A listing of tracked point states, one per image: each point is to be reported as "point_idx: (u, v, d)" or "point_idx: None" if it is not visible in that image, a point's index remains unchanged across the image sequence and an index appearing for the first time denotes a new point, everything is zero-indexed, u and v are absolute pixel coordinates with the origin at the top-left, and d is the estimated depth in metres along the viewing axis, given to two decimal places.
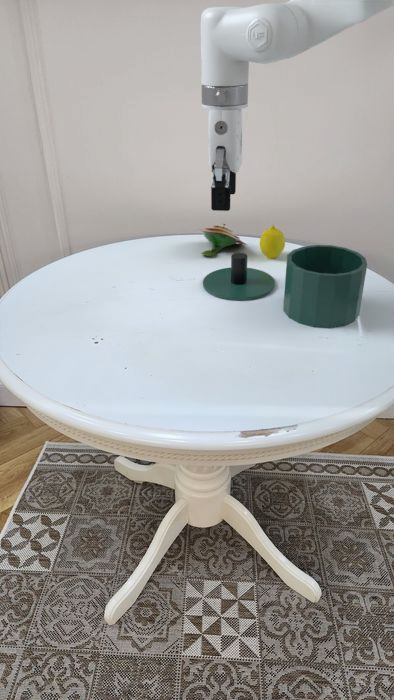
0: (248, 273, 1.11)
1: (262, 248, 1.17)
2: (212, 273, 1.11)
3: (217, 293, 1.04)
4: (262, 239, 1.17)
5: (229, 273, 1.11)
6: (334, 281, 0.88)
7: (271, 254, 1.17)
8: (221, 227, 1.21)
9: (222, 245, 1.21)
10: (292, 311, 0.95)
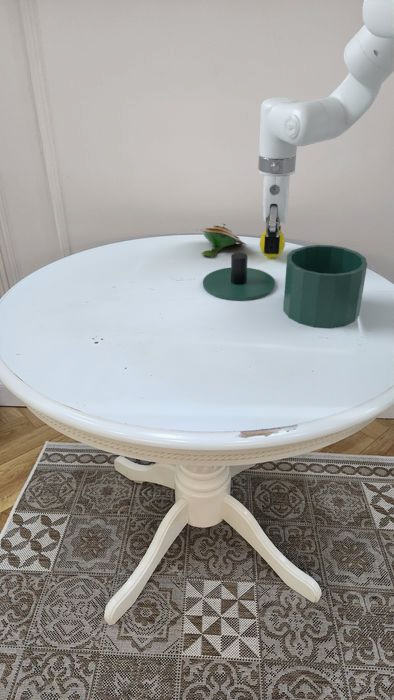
0: (248, 273, 1.11)
1: (262, 248, 1.17)
2: (212, 273, 1.11)
3: (217, 293, 1.04)
4: (262, 239, 1.17)
5: (229, 273, 1.11)
6: (334, 281, 0.88)
7: (271, 254, 1.17)
8: (221, 227, 1.21)
9: (222, 245, 1.21)
10: (292, 311, 0.95)
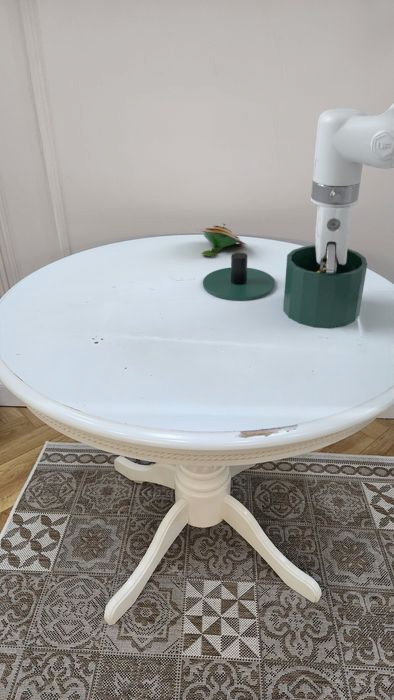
0: (248, 273, 1.11)
1: None
2: (212, 273, 1.11)
3: (217, 293, 1.04)
4: None
5: (229, 273, 1.11)
6: (334, 281, 0.88)
7: None
8: (221, 227, 1.21)
9: (222, 245, 1.21)
10: (292, 311, 0.95)
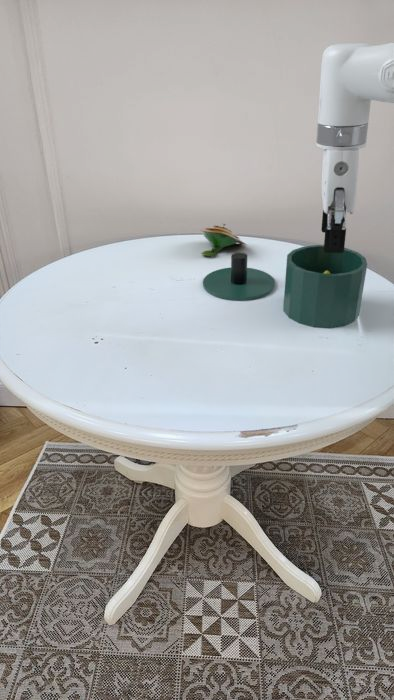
0: (248, 273, 1.11)
1: None
2: (212, 273, 1.11)
3: (217, 293, 1.04)
4: None
5: (229, 273, 1.11)
6: (334, 281, 0.88)
7: None
8: (221, 227, 1.21)
9: (222, 245, 1.21)
10: (292, 311, 0.95)
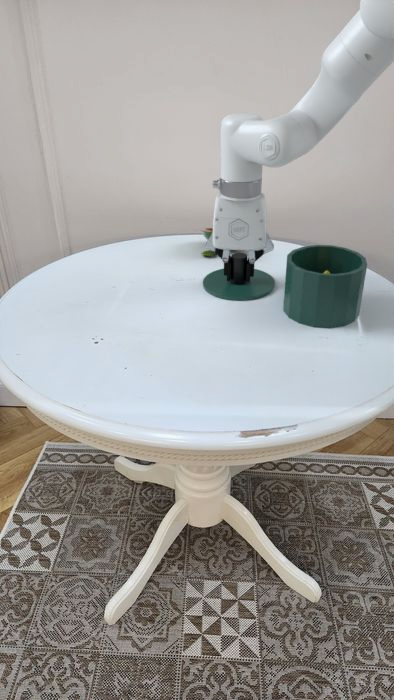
0: None
1: None
2: (212, 273, 1.11)
3: (217, 293, 1.04)
4: None
5: None
6: (334, 281, 0.88)
7: None
8: None
9: None
10: (292, 311, 0.95)
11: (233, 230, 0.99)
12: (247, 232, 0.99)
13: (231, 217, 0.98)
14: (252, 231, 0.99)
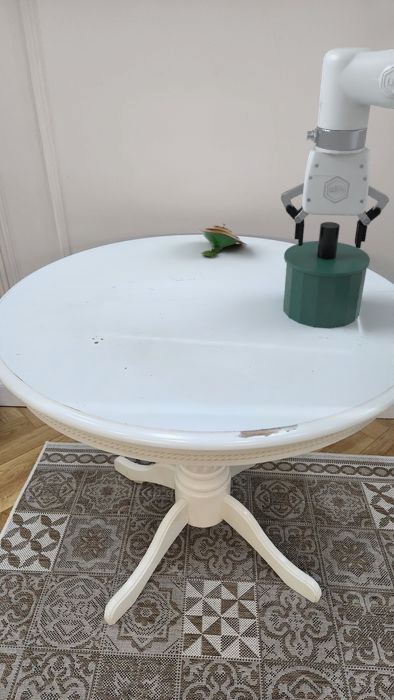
0: None
1: None
2: (292, 247, 0.96)
3: (305, 268, 0.89)
4: None
5: (312, 247, 0.96)
6: (334, 281, 0.88)
7: None
8: (221, 227, 1.21)
9: (222, 245, 1.21)
10: (292, 311, 0.95)
11: (329, 191, 0.84)
12: (346, 193, 0.84)
13: (328, 175, 0.83)
14: (352, 191, 0.84)
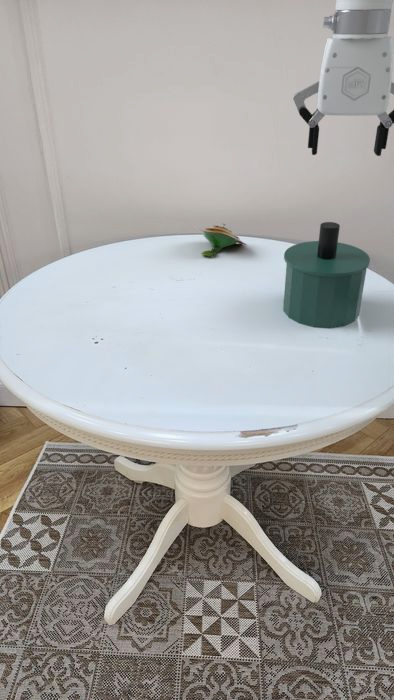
0: None
1: None
2: (292, 247, 0.96)
3: (305, 268, 0.89)
4: None
5: (312, 247, 0.96)
6: (334, 281, 0.88)
7: None
8: (221, 227, 1.21)
9: (222, 245, 1.21)
10: (292, 311, 0.95)
11: (348, 85, 0.76)
12: (367, 87, 0.76)
13: (347, 66, 0.75)
14: (374, 86, 0.75)
